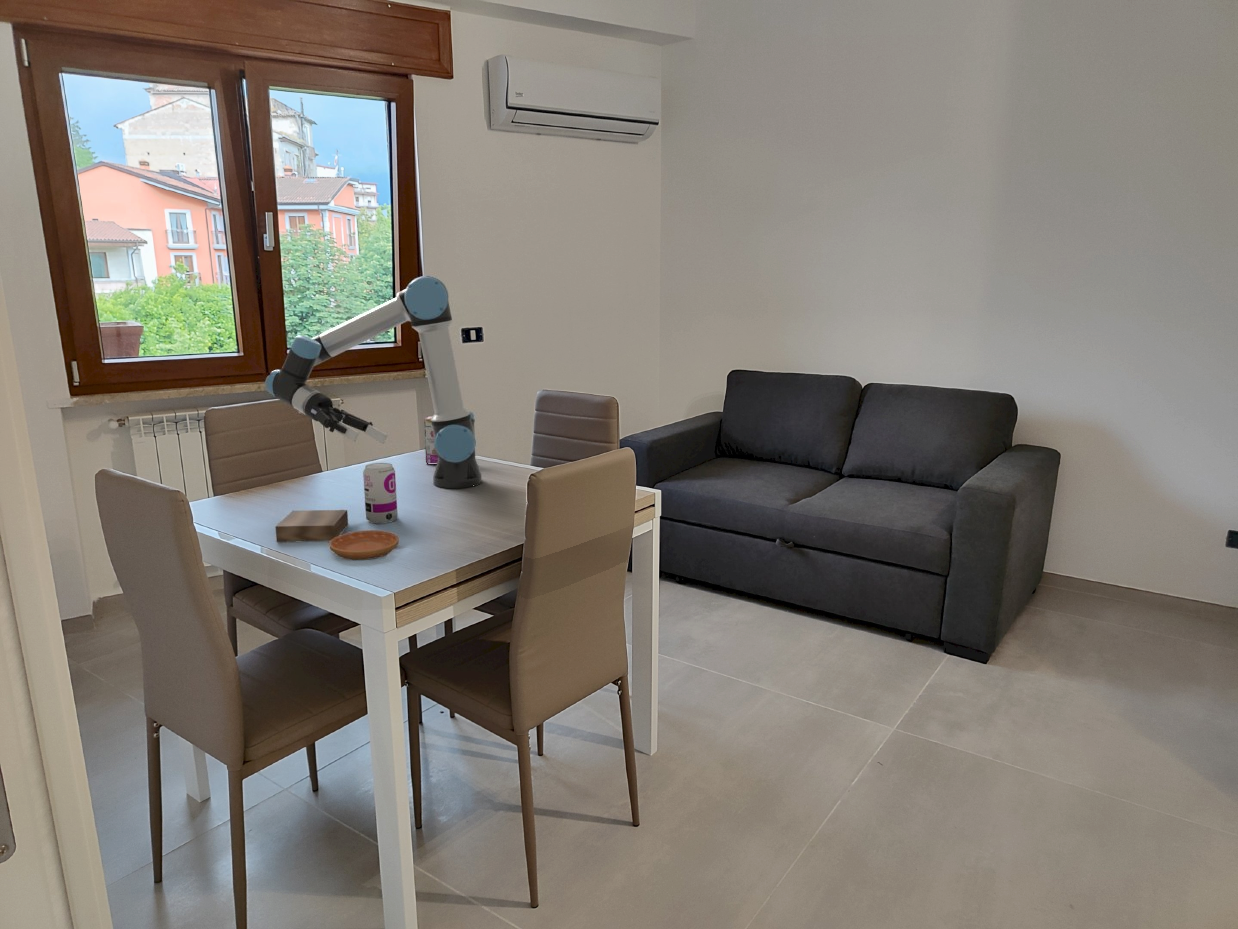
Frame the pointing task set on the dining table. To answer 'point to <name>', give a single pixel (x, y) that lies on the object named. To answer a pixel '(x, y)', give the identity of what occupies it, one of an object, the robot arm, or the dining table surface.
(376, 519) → the supplement can
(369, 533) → the saucer
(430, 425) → the candy bar box
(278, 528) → the podium
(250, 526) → the dining table surface
